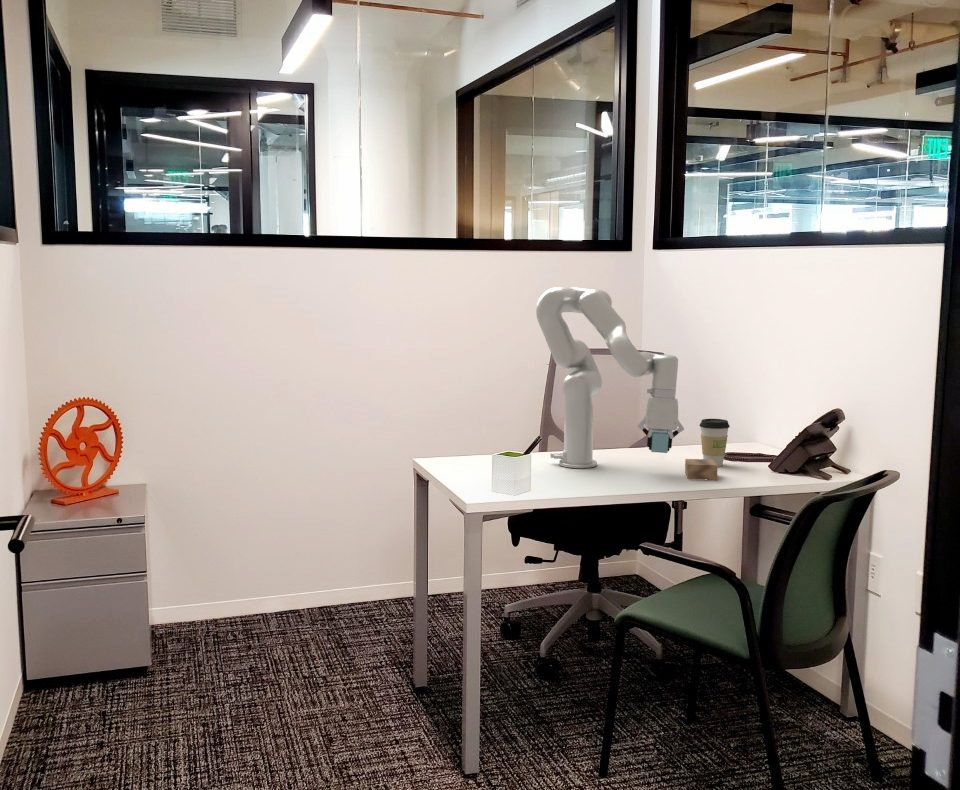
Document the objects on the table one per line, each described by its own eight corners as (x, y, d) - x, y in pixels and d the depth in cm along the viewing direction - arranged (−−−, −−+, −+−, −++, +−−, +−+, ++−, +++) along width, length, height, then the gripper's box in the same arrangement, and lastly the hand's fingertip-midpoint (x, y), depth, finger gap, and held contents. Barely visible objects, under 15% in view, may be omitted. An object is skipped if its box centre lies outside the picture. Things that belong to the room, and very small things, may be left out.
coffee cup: (729, 468, 304) (730, 423, 302) (698, 467, 306) (699, 422, 304) (727, 462, 314) (729, 418, 312) (697, 461, 316) (699, 417, 314)
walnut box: (687, 480, 288) (687, 464, 287) (685, 474, 297) (685, 458, 296) (716, 481, 287) (717, 465, 286) (713, 475, 295) (714, 459, 295)
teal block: (651, 451, 294) (652, 433, 294) (650, 448, 299) (651, 430, 298) (667, 453, 294) (668, 434, 293) (666, 449, 299) (667, 431, 298)
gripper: (637, 393, 291) (632, 450, 294) (692, 397, 289) (687, 454, 292) (635, 390, 298) (631, 445, 301) (689, 393, 297) (684, 449, 299)
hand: (658, 449), depth 297 cm, fingers closed on teal block, 5 cm apart
